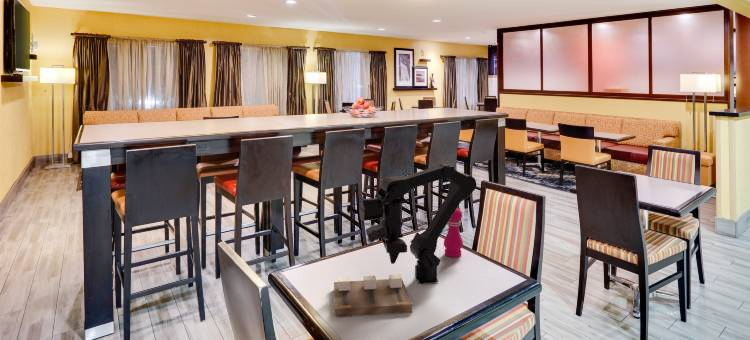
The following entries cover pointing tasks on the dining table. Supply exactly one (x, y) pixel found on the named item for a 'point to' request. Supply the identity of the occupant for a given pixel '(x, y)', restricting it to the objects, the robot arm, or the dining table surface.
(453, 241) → the pepper mill
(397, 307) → the switch board
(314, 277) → the dining table surface
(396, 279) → the tab
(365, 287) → the tab
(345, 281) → the tab
